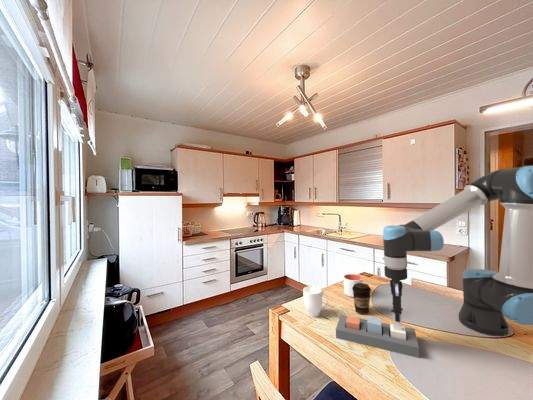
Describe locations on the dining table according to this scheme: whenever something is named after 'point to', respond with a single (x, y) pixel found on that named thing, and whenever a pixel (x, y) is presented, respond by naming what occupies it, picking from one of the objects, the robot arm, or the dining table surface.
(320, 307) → the mug
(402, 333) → the key white
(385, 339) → the key panel
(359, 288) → the coffee cup
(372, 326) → the key slate
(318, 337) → the dining table surface
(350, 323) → the key rust
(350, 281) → the cup
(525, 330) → the dining table surface
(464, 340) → the dining table surface
